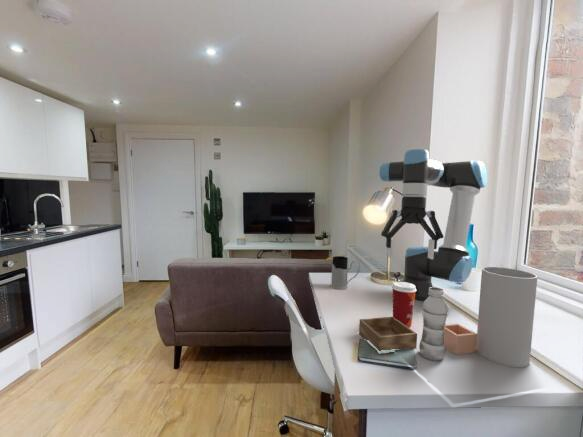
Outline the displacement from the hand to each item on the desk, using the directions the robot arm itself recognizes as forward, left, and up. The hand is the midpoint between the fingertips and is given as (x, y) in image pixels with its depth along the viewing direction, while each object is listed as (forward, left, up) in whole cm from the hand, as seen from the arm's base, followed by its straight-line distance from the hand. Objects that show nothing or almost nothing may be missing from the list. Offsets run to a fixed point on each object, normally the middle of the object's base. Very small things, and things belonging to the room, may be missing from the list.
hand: (410, 257), depth 98 cm
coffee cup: (+1, -1, -25) cm, 25 cm away
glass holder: (+3, -45, -25) cm, 52 cm away
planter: (-6, +16, -25) cm, 30 cm away
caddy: (+13, +8, -25) cm, 29 cm away
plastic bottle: (+5, +18, -25) cm, 31 cm away
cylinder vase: (-16, +22, -25) cm, 37 cm away
